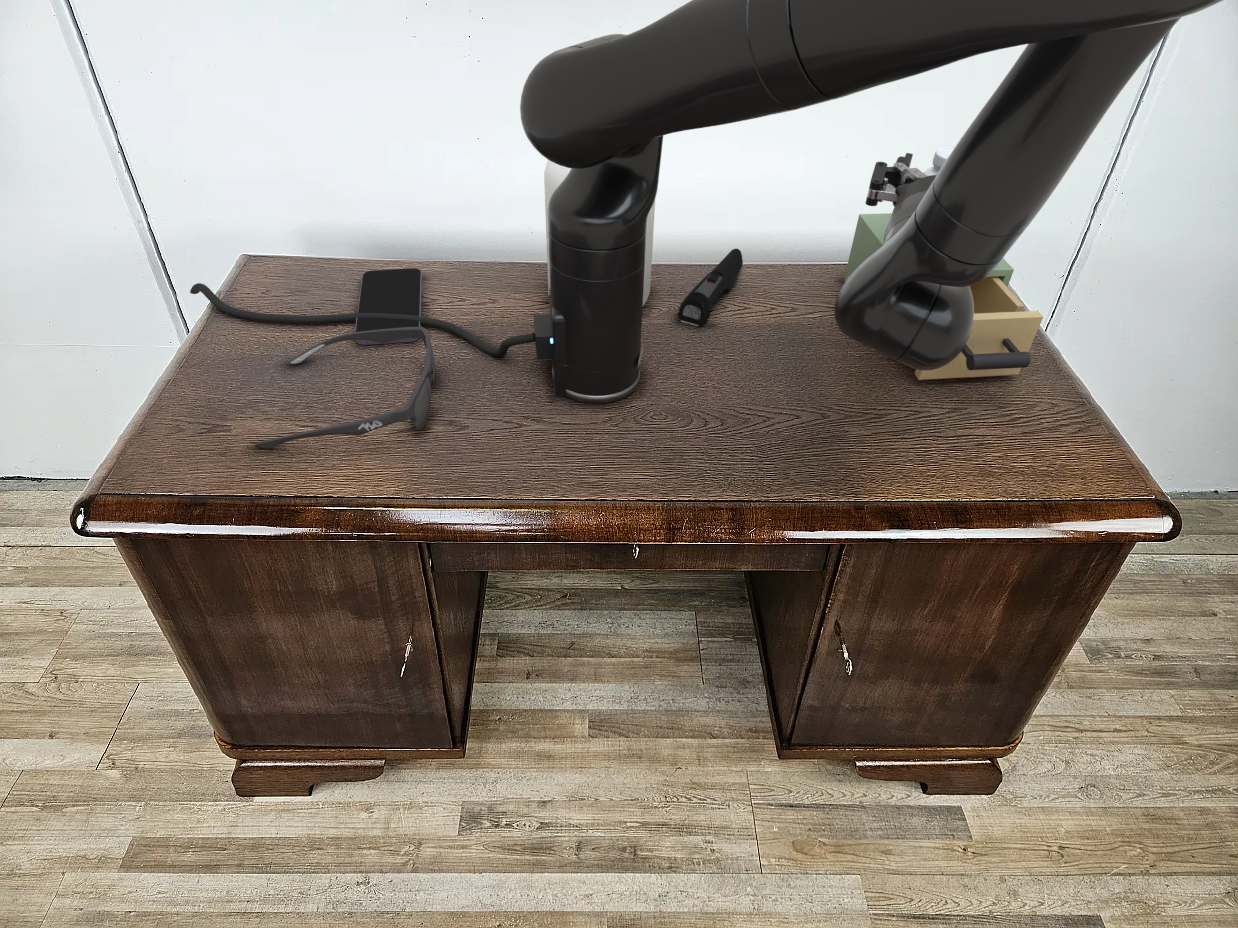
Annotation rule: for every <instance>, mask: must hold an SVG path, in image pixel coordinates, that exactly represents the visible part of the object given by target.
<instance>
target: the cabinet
mask: <svg viewBox="0 0 1238 928" xmlns="http://www.w3.org/2000/svg"><path fill="white" fill-rule="evenodd" d="M891 214H892V212H890V213H889V212H888V213H885V212H884V213H860V214H858V217H857V222H856V226H855V231H854V235H853V238H852V239H853V240H852V243H851V248H850V253H849V256H848V261H847V265H846V270H845V272H844V273H845V274H844V278H843V283H844V282H845V281H846V280H847V278H848V277H849V276H850V275H851V273H852V272H853V271H854V270H855V269H856V268H857V267H858V266H859V265H860V264H861V263H863V262H864V261H865V260H866V259H867V258H868V257H870V256H871V255H872V254H873V253H874V252H876V251H877V250H878V249H879V248H881V247H882V245H883V241H884V234H885V230H886V227H887V225H888V222H889V220H890V217H891ZM1014 271H1015V268H1014V267H1012V266H1011V265H1010V263H1008V262H1007V260H1006V259H1005V258H1003V259H1002V260H1001V261H1000V262H999V264H998V265H997V266H996V267H995V268H994V270H993V271H992V272H991V273H990V274H989V275H988V276H987V277H994V276H997V277H998V278H999V279H1000V280H1001V281H1002V282H1003V283H1004V284H1005V285H1006V286H1007V288H1009V284H1010V282H1011V279H1012V276H1013V274H1014Z"/></svg>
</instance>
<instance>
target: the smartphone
mask: <svg viewBox="0 0 1238 928" xmlns="http://www.w3.org/2000/svg"><path fill="white" fill-rule="evenodd" d="M422 301H423V272H422V270H421V269H420V268H418V267H417V268H416V267H408V268H407V267H406V268H389V269H371V270H367V271H365V272H363V273H362V276H361V282H360V288H359V297H358V304H357V312H356V313H383V314H403V315H414V316H422ZM402 327H422V324H420V321H416V320H407V319H393V318H371V317H358V318H357V319H356V321H355V327H354V332H360V331H370V330H379V329H390V328H402ZM417 340H419V339H415V338H403V339H396V340H392V341H389V342H385V343H380V342H374V341H367V340H355V343H357V344H358V345H361V346H370V345H385V344H387V345H388V344H399V343H400V344H401V343H412V342H416V341H417Z"/></svg>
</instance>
